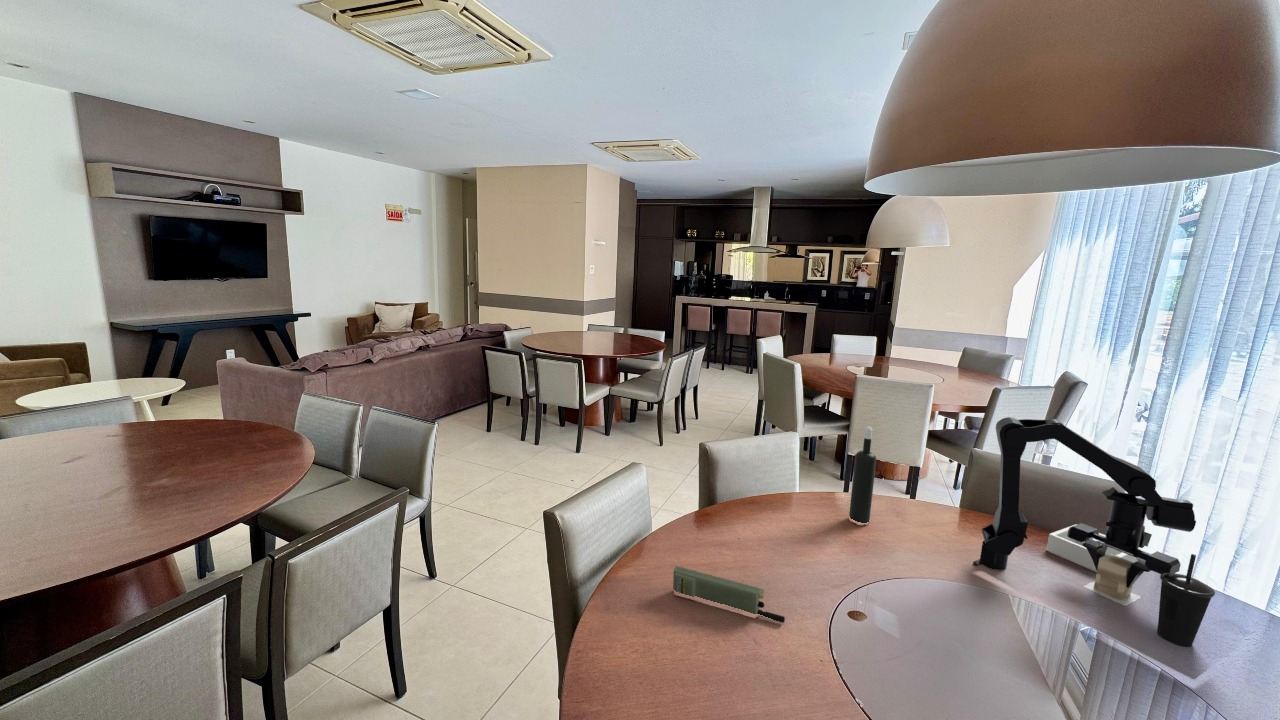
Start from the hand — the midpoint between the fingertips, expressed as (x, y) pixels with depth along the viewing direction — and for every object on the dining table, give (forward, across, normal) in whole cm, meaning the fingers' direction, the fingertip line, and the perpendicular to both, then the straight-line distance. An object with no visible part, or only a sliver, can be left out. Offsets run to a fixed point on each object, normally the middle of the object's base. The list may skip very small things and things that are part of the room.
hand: (1114, 580), depth 120 cm
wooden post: (+3, 0, 0) cm, 3 cm away
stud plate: (+4, 0, 0) cm, 4 cm away
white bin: (+4, +10, -14) cm, 18 cm away
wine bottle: (+4, +51, +26) cm, 57 cm away
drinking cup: (+4, -14, +8) cm, 16 cm away
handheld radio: (+4, +34, +87) cm, 94 cm away
